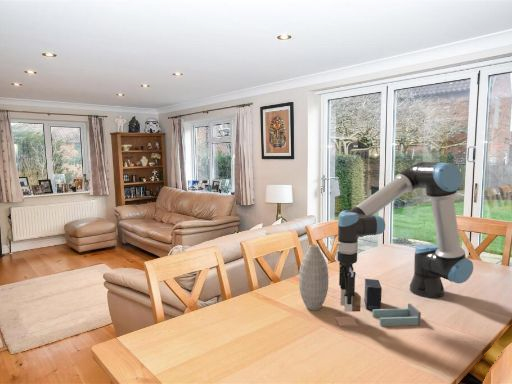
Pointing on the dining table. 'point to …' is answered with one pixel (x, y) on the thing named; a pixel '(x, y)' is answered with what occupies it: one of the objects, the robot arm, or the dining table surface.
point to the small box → (372, 294)
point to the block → (355, 302)
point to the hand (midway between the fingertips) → (346, 307)
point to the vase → (313, 278)
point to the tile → (346, 321)
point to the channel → (398, 316)
